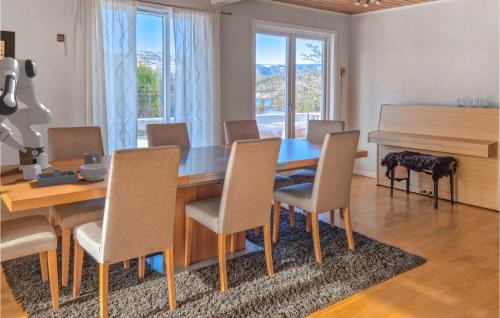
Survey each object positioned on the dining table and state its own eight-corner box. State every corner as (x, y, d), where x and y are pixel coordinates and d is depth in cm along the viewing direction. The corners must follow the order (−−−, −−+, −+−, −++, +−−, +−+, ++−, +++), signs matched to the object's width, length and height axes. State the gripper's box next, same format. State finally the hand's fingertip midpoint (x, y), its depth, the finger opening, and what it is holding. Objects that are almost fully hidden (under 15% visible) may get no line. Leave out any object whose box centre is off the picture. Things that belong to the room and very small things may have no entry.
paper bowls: (106, 181, 236) (105, 167, 234) (77, 183, 233) (76, 168, 232) (110, 176, 251) (109, 162, 249) (83, 177, 248) (82, 163, 247)
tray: (36, 181, 236) (35, 166, 235) (74, 177, 246) (73, 163, 245) (39, 187, 224) (38, 171, 222) (78, 182, 234) (77, 167, 232)
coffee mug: (85, 168, 274) (84, 152, 272) (101, 167, 277) (100, 152, 275) (83, 172, 261) (82, 156, 259) (100, 171, 264) (99, 155, 262)
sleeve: (19, 163, 226) (18, 147, 225) (32, 163, 230) (30, 146, 228) (20, 165, 221) (19, 149, 220) (33, 164, 225) (31, 148, 223)
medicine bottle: (41, 177, 248) (40, 157, 246) (36, 180, 241) (34, 159, 239) (29, 177, 248) (27, 157, 245) (23, 180, 241) (21, 159, 238)
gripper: (-3, 136, 225) (19, 152, 232) (-2, 140, 208) (22, 158, 215) (6, 127, 227) (28, 143, 234) (7, 130, 210) (31, 148, 217)
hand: (25, 150), depth 224 cm, fingers closed on sleeve, 6 cm apart
